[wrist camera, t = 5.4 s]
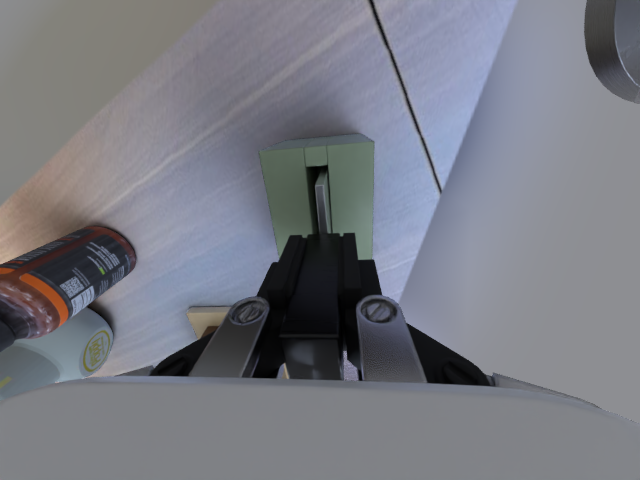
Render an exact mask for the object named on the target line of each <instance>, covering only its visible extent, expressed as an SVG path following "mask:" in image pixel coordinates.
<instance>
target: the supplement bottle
mask: <svg viewBox="0 0 640 480" xmlns="http://www.w3.org/2000/svg"><path fill="white" fill-rule="evenodd" d="M135 264H136V256H135V253H134V251H133V249H132V247H131V246H130V245H129V243H128V242H127V241H126V240H125V239H124V238H123V237H121V236H120V235H118V234H117V233H115V232H113V231H111V230H109V229H106V228H103V227H97V226H91V227H85V228H83V229H80V230H77V231H75V232H73V233H71V234H68V235H66V236H64V237H61V238H60V239H57V240H55V241H53V242H50V243H48V244H46V245H44V246H41V247H39V248H37V249H35V250H32V251H30V252H28V253H26V254H23V255H21V256H19V257H17V258H15V259H12V260H10V261H8V262H6V263H3V264H1V265H0V352H2V351H3V350H5V349H6V348H8V347H10V346H11V345H12V344H14V341H15V340H18V339H35V338H39V337H43V336H45V335H48V334H49V333H51V332H53V331H54V330H56V329H57V328H58V327H59V326H61V325H62V324H63V323H64V322H66V321H67V320H69V319H70V318H71V317H73V316H74V315H75V314H77V313H78V312H79V311H81V310H82V309H83V308H84V307H86V306H87V305H88V304H90V303H91V302H92V301H94V300H95V299H96V298H98V297H99V296H100V295H102V294H103V293H104V292H105V291H107V290H108V289H109V288H111V287H112V286H113V285H115V284H116V283H117V282H119V281H120V280H121V279H122V278H124V277H125V276H127V275H128V274H129V273H130V272H131V271H132V270H133V269H134V267H135Z"/></svg>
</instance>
